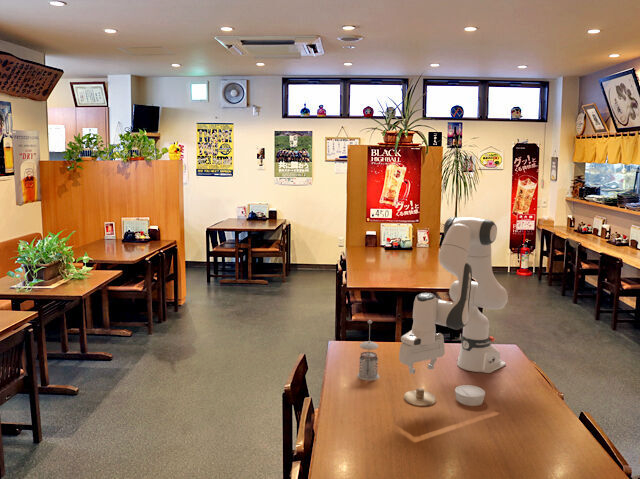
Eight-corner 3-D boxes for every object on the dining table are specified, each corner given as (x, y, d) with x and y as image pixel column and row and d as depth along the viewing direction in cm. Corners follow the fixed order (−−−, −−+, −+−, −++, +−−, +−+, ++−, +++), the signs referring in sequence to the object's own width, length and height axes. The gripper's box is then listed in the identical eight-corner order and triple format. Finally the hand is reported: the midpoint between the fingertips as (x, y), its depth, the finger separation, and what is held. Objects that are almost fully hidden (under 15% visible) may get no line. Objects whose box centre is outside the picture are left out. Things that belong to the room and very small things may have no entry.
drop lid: (420, 389, 225) (421, 380, 225) (442, 401, 215) (442, 392, 215) (397, 396, 219) (398, 387, 218) (418, 408, 209) (419, 399, 208)
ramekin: (448, 403, 217) (449, 390, 216) (463, 394, 225) (464, 382, 224) (475, 413, 209) (476, 399, 208) (489, 403, 217) (490, 390, 217)
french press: (380, 372, 246) (382, 317, 242) (378, 383, 234) (380, 325, 230) (358, 370, 247) (359, 316, 243) (355, 381, 236) (356, 324, 232)
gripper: (437, 330, 221) (435, 363, 223) (397, 337, 210) (395, 372, 212) (449, 334, 216) (447, 368, 218) (408, 342, 205) (406, 378, 207)
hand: (421, 371), depth 215 cm, fingers open, 8 cm apart
